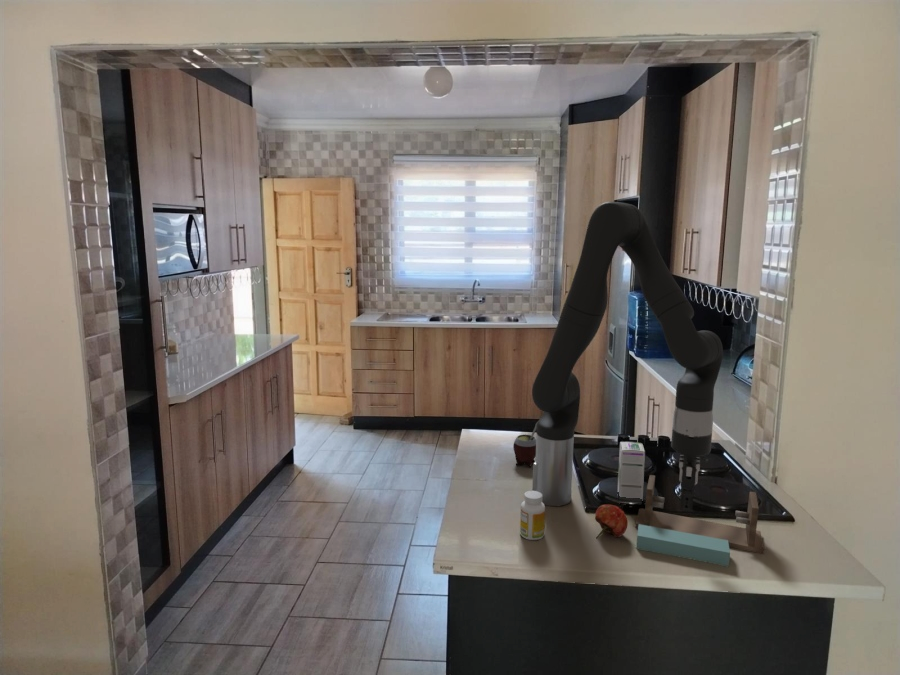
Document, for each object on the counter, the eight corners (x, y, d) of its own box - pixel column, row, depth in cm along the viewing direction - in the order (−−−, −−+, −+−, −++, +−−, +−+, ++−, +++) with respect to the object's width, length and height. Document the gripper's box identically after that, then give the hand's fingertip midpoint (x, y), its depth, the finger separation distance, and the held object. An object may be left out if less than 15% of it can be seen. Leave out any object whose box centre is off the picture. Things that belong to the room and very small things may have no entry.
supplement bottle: (546, 530, 130) (547, 491, 128) (541, 542, 125) (543, 501, 123) (522, 526, 132) (523, 487, 130) (517, 538, 127) (518, 497, 125)
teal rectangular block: (636, 550, 123) (637, 535, 122) (637, 538, 127) (638, 524, 127) (728, 568, 116) (730, 552, 116) (726, 555, 121) (728, 540, 120)
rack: (635, 527, 131) (638, 487, 129) (639, 511, 138) (641, 473, 136) (763, 553, 121) (768, 510, 119) (760, 535, 128) (764, 494, 126)
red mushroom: (613, 555, 124) (644, 523, 126) (595, 533, 122) (626, 500, 124) (594, 541, 131) (624, 510, 133) (577, 520, 129) (607, 489, 131)
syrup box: (642, 506, 141) (646, 451, 138) (617, 503, 142) (621, 449, 139) (639, 495, 147) (643, 442, 144) (616, 493, 148) (619, 440, 145)
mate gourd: (508, 461, 168) (509, 412, 165) (531, 456, 171) (532, 409, 168) (522, 470, 161) (523, 420, 158) (545, 466, 164) (547, 416, 162)
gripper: (674, 415, 124) (669, 484, 127) (670, 437, 112) (665, 513, 115) (711, 419, 121) (706, 490, 124) (712, 442, 109) (706, 521, 112)
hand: (686, 501), depth 119 cm, fingers open, 8 cm apart
